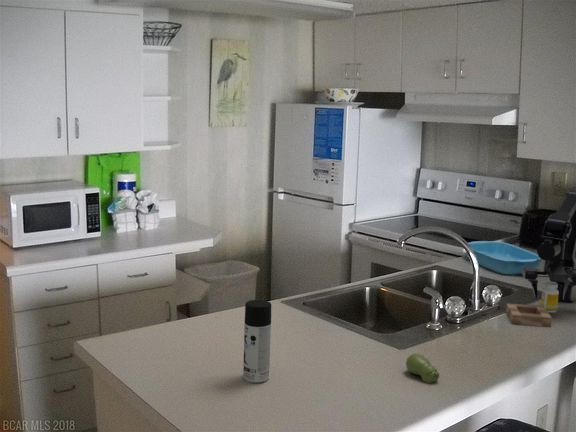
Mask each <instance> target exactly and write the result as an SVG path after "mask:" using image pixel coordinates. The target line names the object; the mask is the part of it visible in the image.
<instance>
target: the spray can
mask: <svg viewBox="0 0 576 432" xmlns="http://www.w3.org/2000/svg"><path fill="white" fill-rule="evenodd" d="M243 330H244V333H243V335H244V336H243V371H242V372H243V375H242V376H243V380H244V382H248V383H251V384H264V383H266V382H267V381H268V380H269V378H270V368H271V367H270V365H271V363H270V362H271V359H270V358H271V336H272V335H271V333H272V332H271V331H272V303H271V301H269V300H264V299H263V300H262V299H251V300H248V301H246V302H245V307H244V329H243Z"/></svg>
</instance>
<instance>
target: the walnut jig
mask: <svg viewBox="0 0 576 432" xmlns="http://www.w3.org/2000/svg"><path fill="white" fill-rule="evenodd" d="M505 313H506V315H507V317H508V319H509V321H510V323H511V324H512V325H517V326H518V325H519V326H521V325H522V326H531V327H532V326H533V327H544V328H545V327H546V328H548V327H549V328H552V323H553V321H552V320H553V317H552V315H550V312H547V310H546V309H545V307H544V306H540V305H536V304H519V303H508V302H507V303H506V306H505Z"/></svg>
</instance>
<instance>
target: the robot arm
mask: <svg viewBox="0 0 576 432" xmlns="http://www.w3.org/2000/svg"><path fill="white" fill-rule="evenodd" d="M540 239H544V242H542V243H541V244H539V245H538V247H537V249H536V254H538V256H539V257H540V258H541V259H542V260H541V261H544V265H543V270H537V269H535V268H530V267H524V268H523V270H522V274H521V275H522V276H523V278H524V279H525V280H527V281H528V282H529V283H530V284H531V285H530V286H531V287H532V288H531V289H532V291H533V296H534V298H535V299H537V298H538V283H539V280H538V278H540V277H543V278H549V282H554V283H557V284H558V288H557V290H558V291H559V296H558V302H564V303H565V302H566V303H575V300H574V299H573V297H572V295H573V287H576V259H575V258H576V190H567V191H566V193H565V197H564V200H563V201H562V202H561V205H560V207H559V208H558V209H557V211H556V212H554V213H551V214H550V215H549V217H548V218H547V219H545V222H544V225H543V228H542V232H541V235H540Z"/></svg>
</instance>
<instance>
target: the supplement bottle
mask: <svg viewBox="0 0 576 432" xmlns="http://www.w3.org/2000/svg"><path fill="white" fill-rule="evenodd" d="M557 288H558V284H557V283H556V282H551V281H545V283H544V288H543V289H542V290H541V298H540V305H539V306H544V307H545V309H546V310H547V312H548V313H549V314H550V313H552V314H553V313H556V312H557V311H558V304H559V303H558V302H559V301H558V296H559V291H558V290H557Z"/></svg>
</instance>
